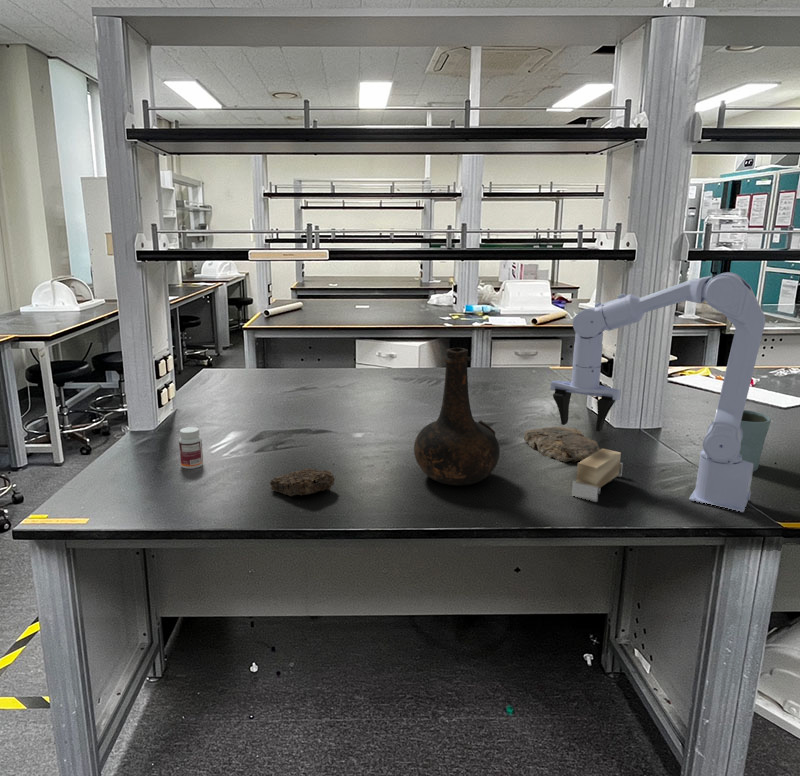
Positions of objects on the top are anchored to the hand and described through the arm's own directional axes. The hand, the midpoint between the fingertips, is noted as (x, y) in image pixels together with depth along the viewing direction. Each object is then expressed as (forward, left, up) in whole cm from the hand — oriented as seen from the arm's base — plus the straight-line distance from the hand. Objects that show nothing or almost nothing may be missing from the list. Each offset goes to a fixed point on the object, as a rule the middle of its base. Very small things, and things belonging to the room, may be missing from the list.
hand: (581, 426), depth 131 cm
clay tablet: (+7, -11, -11) cm, 17 cm away
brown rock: (+41, +44, -11) cm, 61 cm away
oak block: (-6, +5, -9) cm, 12 cm away
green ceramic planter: (-28, -26, -11) cm, 40 cm away
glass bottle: (+20, +19, -11) cm, 30 cm away
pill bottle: (+71, +48, -11) cm, 86 cm away
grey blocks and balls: (-6, +5, -10) cm, 13 cm away
